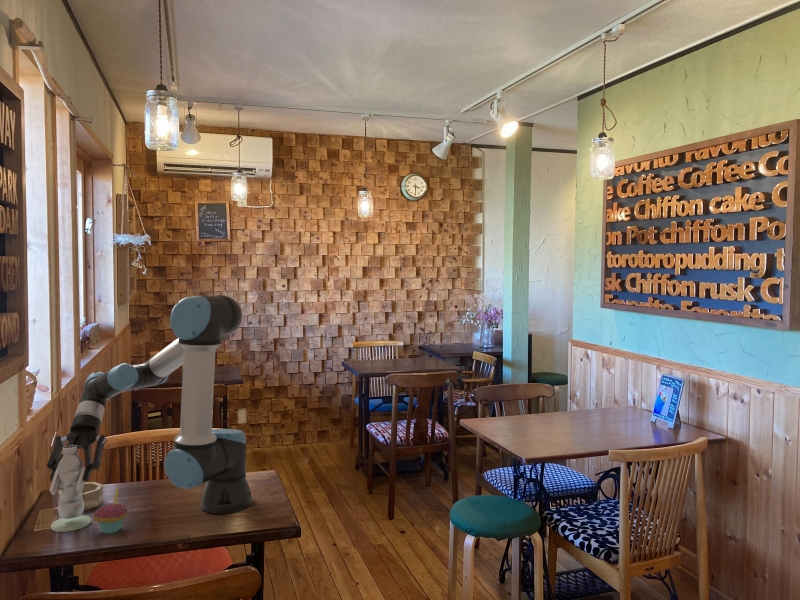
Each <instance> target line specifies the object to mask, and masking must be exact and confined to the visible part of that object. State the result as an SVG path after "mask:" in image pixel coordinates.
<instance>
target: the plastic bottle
mask: <svg viewBox="0 0 800 600" xmlns="http://www.w3.org/2000/svg"><path fill="white" fill-rule="evenodd" d="M78 453H79V449H77V445H69V446H67V445H65V446H63V449H62V451H61V454H63V457H62V459H61V460H60V462H59V463H58V466H57V471H58V476H59V489H60V490H59V491H60V502H59V506H58V507H57V508H58V509H57V511H58V512H57V513H58V515H59V517H60V519H61V518H63V519H70V518H75V517H78V516H80V515H83V514H84V512H85V511H84V500H83V497H82V494H78V492H77V491H76V487H77V483H78V480H79V476H80V473H81V470H82V468H84V462H83V460H82V459H81V457H80V456H79V455H78Z"/></svg>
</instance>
